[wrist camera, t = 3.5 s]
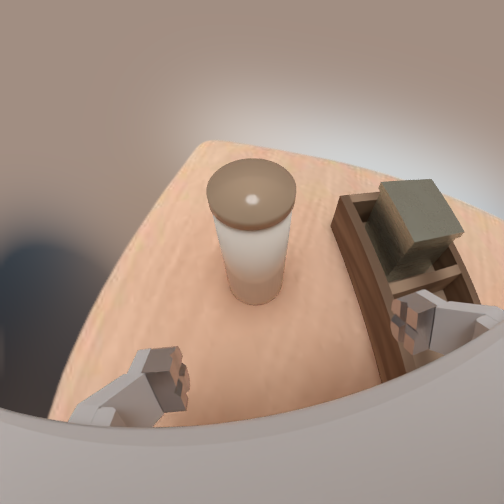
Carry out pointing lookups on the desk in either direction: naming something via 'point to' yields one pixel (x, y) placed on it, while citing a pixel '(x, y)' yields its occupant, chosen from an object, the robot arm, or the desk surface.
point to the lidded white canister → (253, 225)
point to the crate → (392, 285)
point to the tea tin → (410, 227)
